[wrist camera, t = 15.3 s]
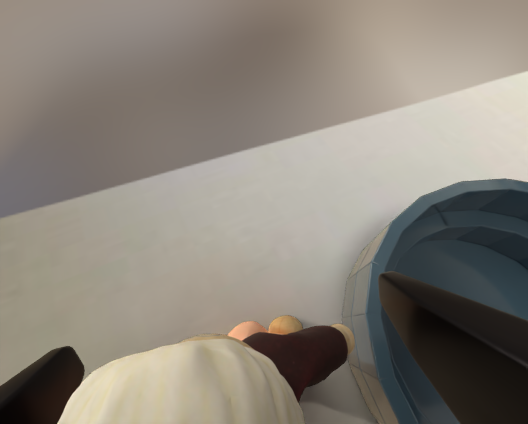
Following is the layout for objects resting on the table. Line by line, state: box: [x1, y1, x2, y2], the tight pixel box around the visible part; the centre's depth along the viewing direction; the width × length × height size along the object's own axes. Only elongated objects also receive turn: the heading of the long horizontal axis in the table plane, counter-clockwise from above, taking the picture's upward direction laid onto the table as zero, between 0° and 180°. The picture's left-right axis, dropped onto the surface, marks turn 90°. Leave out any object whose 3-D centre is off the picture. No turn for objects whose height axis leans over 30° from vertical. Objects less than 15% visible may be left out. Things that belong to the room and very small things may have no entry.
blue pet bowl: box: [342, 179, 528, 424], centre depth 11 cm, size 13×13×5 cm
